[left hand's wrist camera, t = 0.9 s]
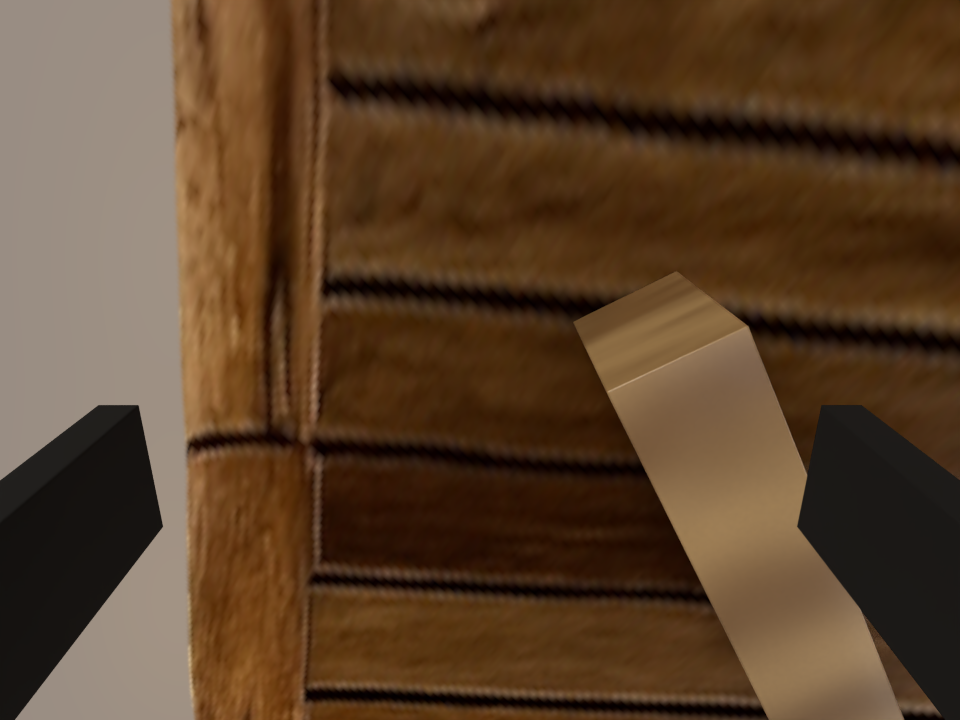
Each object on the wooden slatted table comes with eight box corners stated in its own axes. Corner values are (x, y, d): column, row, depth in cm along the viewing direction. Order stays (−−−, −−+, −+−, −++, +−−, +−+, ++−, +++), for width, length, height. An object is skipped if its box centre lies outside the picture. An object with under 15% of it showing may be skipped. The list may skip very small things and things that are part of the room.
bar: (572, 321, 31) (606, 392, 23) (676, 270, 31) (748, 325, 23) (739, 658, 39) (807, 798, 31) (826, 624, 38) (920, 760, 30)
